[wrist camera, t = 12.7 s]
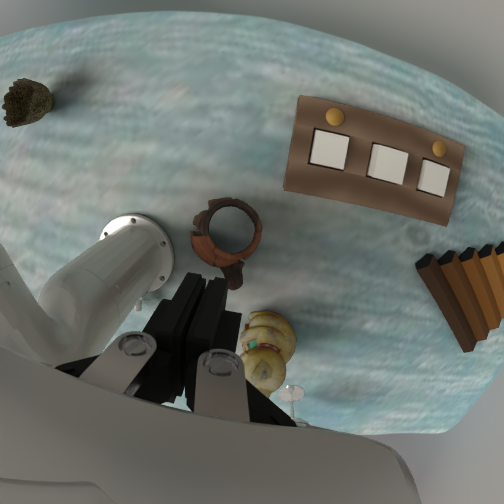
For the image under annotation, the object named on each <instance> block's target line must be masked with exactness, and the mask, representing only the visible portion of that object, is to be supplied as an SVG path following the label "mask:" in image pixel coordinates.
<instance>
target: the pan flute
mask: <svg viewBox="0 0 504 504" xmlns="http://www.w3.org/2000/svg"><path fill="white" fill-rule="evenodd" d="M459 259H460V260H459ZM460 261H461V262H460ZM438 262H439V264H438ZM438 262H437V260H436V259H435V257H434V255H431V254H426V255H425V256H423V257H422V258H421V259H420V260H419V261H418V262H417V263H415V266H416V270H417V272H418V273H419V275H420V276H421V278H422V279H423V281H424V283H425V284H426V286H427V288H428V289H429V291H430V292H431V294H432V296H433V297H434V299H435V301H436V303H437V304H438V306H439V308H440V309H441V311H442V313H443V315H444V316H445V318H446V320H447V322H448V324H449V325H450V327H451V329H452V331H453V333H454V335H455V337H456V339H457V340H458V342H459V344H460V346H461V348H462V350H463V352H464V353H465V352H470V351H473V350H474V348H475V345H476V343H477V341H481V340H486V339H487V336H488V333H489V330H492V329H496V328H499V325H500V322H501V319H502V318H504V242H501V243H500V244H499V246H498V247H497V248H496V249H494V247H493V245H488V244H486V245H485V246H484V247H483V248H482V249H481V250H480V251H479V252H478V253H477V251H476V249H475V248H471V247H468V248H467V249H466V250H465V251H464V252H463V253H462V254H461V255H460V256H459V258H458V256H457V254H456V252H455V251H450V250H448V251H447V252H446V253H445V254H444V255H443V256H442V257H441V258H440V259H439V260H438ZM439 265H440V266H439Z"/></svg>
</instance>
